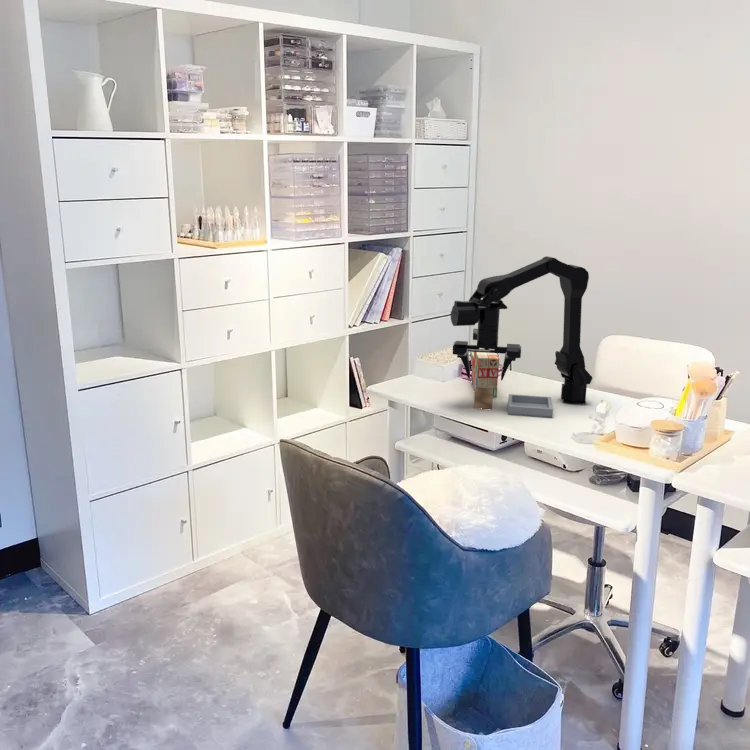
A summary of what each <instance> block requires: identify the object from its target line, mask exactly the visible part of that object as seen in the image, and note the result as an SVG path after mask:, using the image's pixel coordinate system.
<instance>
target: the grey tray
mask: <svg viewBox="0 0 750 750" xmlns="http://www.w3.org/2000/svg"><path fill="white" fill-rule="evenodd" d="M507 400H508V401H507V415H508V416H516V417H517V416H518V417H519V416H520V417H534V418H546V419H547V418H548V419H553V411H554V407H553V402H552V397H551V396H543V395H541V396H540V395H531V394H530V395H528V394H527V395H525V394H515V393H514V394H513V393H512V394H511V393H509V394H508V398H507Z"/></svg>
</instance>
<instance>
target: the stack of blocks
mask: <svg viewBox="0 0 750 750" xmlns="http://www.w3.org/2000/svg"><path fill="white" fill-rule="evenodd" d="M479 349H483V348H479ZM489 350H493V349H489ZM470 357H471V365H472V366H471V369H472V373H471V374H472V377H471V381H472V384H471V386H472V385H473V386H472V388H474V389H473V391H475V388H476V387H480V388H493V398H497V396H498V395H497V394H498V381H499V373H500V371H499V370H500V357H499V353H485V352H469V358H470ZM471 381H470V382H471Z"/></svg>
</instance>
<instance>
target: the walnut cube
mask: <svg viewBox="0 0 750 750" xmlns="http://www.w3.org/2000/svg"><path fill="white" fill-rule="evenodd" d="M493 398H494V397H493V388H480V387H476V388H475V392H474V398H473V399H474V400H473V409H474V408H482V409H481V410H485V409H492V410H493Z"/></svg>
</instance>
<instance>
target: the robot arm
mask: <svg viewBox="0 0 750 750" xmlns="http://www.w3.org/2000/svg"><path fill="white" fill-rule="evenodd" d="M548 274H551V275H553V276H556V277H558V278H559V285H560V288H561V291H562V294H563V297H564V298H563V299H564V305H563V306H564V307H563V332H562V333H563V334H562V335H563V336H562V337H563V338H562V347H561V348H560V351H559V350H558V351H557V350H556V351H555V354H554V355H555V361H554V365H556V369H557V370H558V371H559V373H560V376H561V378H563V383H561V390H560V391H561V392H560V398H561V400H562V403H564V404H573V405H574V404H576V405H586V404H587V402H586V401H587V399H586V398H587V387H588V386H587V385H590V384H591V383H592V380H593V376H592V375H591V374H590V373H589V371H587V370H586V362H585V357H584V355H583V354H584V353H583V351H582V349H581V348H582V347H581V332H582V308H583V307H582V306H583V305H582V302H583V296H584V295H585V293H586V291H587V289H588V285H589V279H590V276H589V275H590V274H589V271H588V270H587V269H586V268H584V267H582V266H578V265H573V264H567V263H565V262H562V261H561V260H558V258H555V257H552V256H546V255H545V256H544V257H542V258H541V259H539V260H536V261H535V262H532V263H529V264H527V265H525V266H522V267H520V268H518V269H516V270H514V271H512V272H509V273H506V274H501V275H493V276H489V277H485V278H482V279H481V280H480V281H479V282H478V284H477V286H476V288H477V289H475V291H474V292H473V294H472V295H471V296H470V297H469V299H468V300H466V301H463V300H454V304H453V306H452V308H451V311H450V320H451V324H452V326H453V327H461V326H462V327H463V326H464V327H467V326H468V327H469V326H475V325H476V324H477V328H473V330H472V340H473V341H476V344H469V341H467V340H465V341H463V340H456V341H454V342H453V344H452V355H455V356H456V358H460V360H461V362H462V364H463V366H464V370H465V374H466V377H467V379H470V352H485V353H497V354H504V359H503V364H502V369H501V374H500V381H503V379H504V377H505V376H506V372H507V370H508V368H509V367H510V365H511V363H512V362H515V361H516V359H521V356H522V346H521V345H520V344H518V343H507V344H506V346H499V329H500V310H507V309H508V306H507V305H506V304H505V303H504V301H503V299H504V298H505V297H507V296H508V295H509V294H510V293H511V292H512V291H514V290H515V289H516V288H519V287H521V286H523V285H526V284H527V283H530V282H532V281H535V280H536V279H539V278H541V277H544V276H546V275H548ZM479 348H483V349H479ZM489 349H493V350H489Z"/></svg>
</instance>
